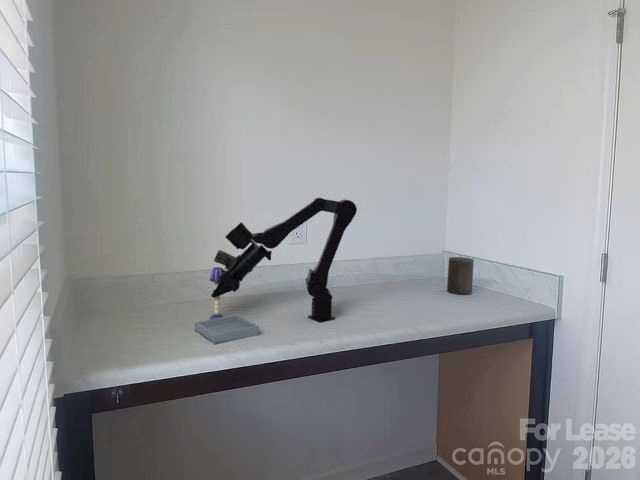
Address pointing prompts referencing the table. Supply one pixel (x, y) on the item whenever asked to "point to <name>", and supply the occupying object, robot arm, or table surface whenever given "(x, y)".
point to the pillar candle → (460, 275)
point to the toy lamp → (215, 278)
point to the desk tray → (226, 329)
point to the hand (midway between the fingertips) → (213, 295)
